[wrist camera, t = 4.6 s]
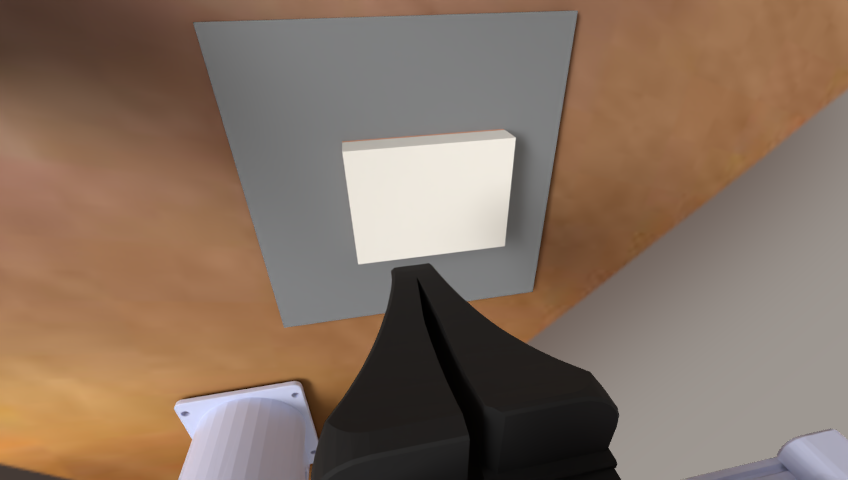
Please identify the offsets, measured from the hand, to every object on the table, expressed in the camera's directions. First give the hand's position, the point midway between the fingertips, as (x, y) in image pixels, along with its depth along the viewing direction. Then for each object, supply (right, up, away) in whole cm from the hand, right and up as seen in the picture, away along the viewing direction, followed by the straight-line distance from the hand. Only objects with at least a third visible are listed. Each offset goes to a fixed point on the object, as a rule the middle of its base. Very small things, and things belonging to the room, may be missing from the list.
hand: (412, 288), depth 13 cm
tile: (+1, +4, +6) cm, 7 cm away
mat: (-1, +4, +7) cm, 8 cm away
